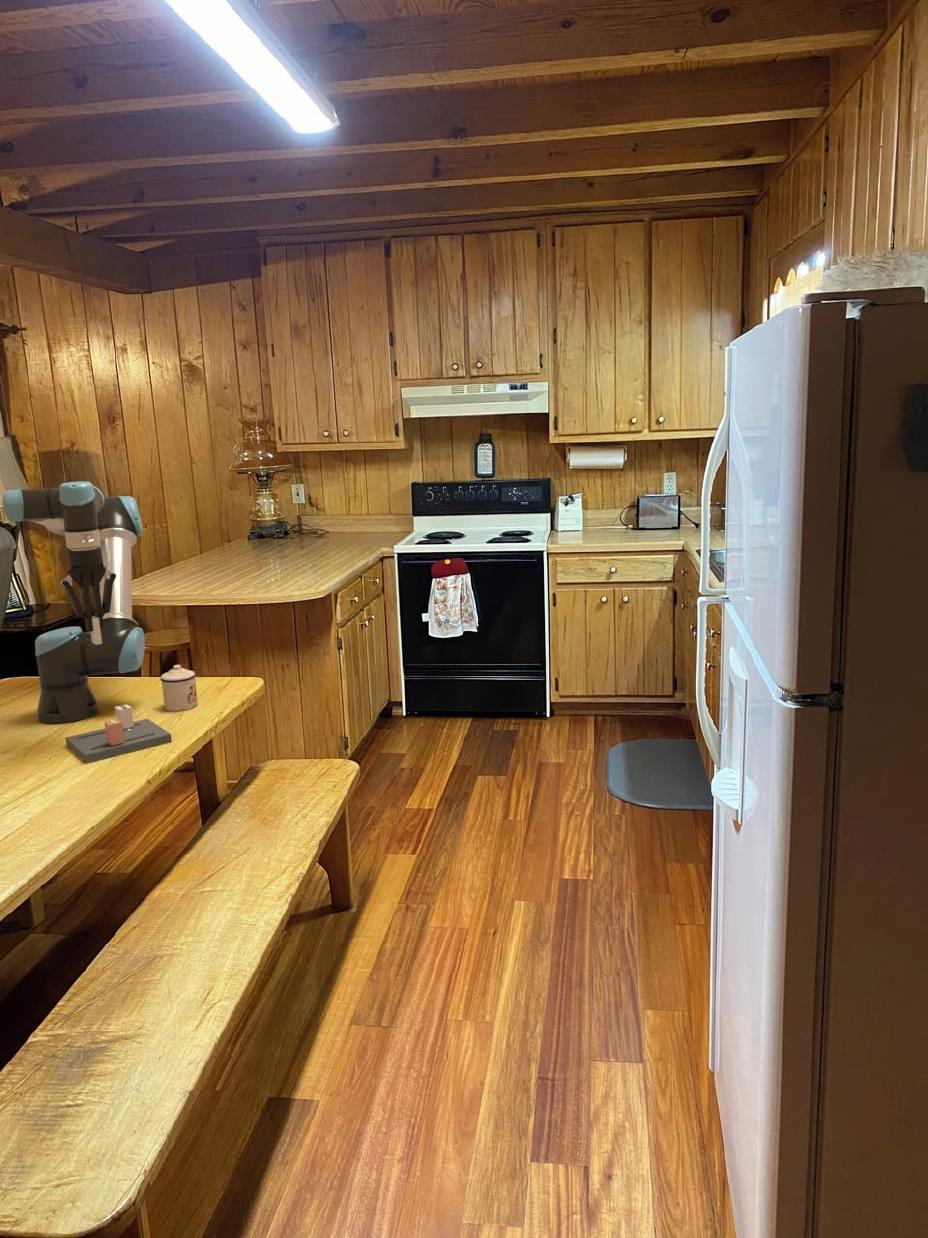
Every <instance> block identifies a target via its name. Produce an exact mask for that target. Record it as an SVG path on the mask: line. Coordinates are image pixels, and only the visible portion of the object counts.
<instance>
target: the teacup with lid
mask: <svg viewBox="0 0 928 1238" xmlns="http://www.w3.org/2000/svg"><path fill="white" fill-rule="evenodd" d="M196 675H197V674H196V673H195V671H194V670H189V669H186V668H183V667H182V666H181V664H174V665H173V667H172V668H171V669H170V670H168V671H167V672H165V673H163V674H162V675H160V681H161V685H162V693H163V695H162V696H163V704H164V709H165V710H166V711H170V712H181V711H182V712H183V710H184V711H187V710H191V709H194V708H196V707H197V706H198V695H197V685H196Z"/></svg>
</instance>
